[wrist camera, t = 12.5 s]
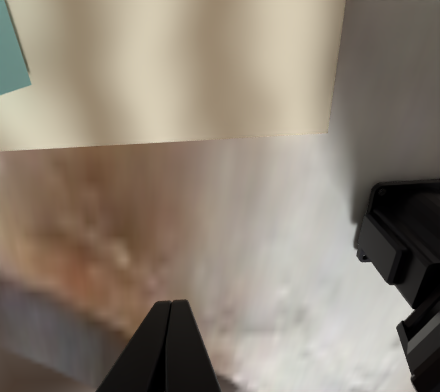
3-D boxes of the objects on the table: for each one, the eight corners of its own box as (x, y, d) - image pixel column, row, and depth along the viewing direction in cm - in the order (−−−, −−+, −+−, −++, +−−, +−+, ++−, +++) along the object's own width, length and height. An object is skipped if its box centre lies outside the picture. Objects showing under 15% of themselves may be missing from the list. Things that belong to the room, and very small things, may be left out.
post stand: (358, -160, 12) (535, -374, 6) (321, 128, 18) (388, 184, 12) (-249, -141, 12) (-823, -357, 5) (-84, 150, 18) (-254, 222, 11)
